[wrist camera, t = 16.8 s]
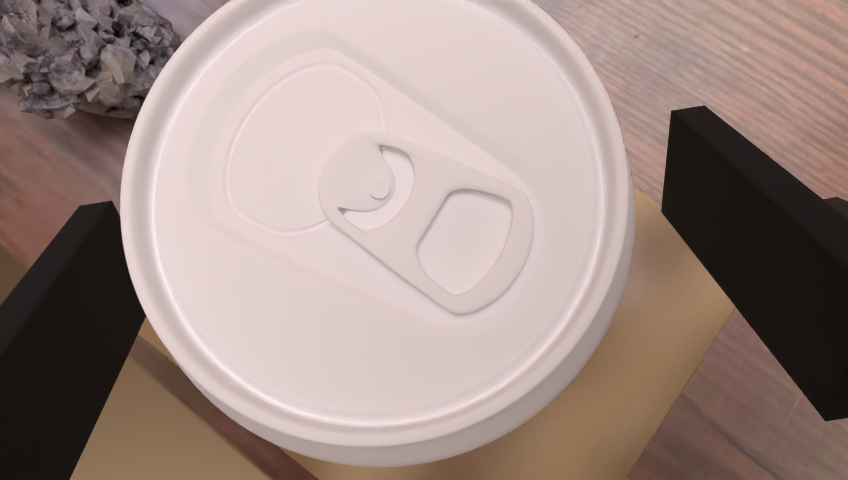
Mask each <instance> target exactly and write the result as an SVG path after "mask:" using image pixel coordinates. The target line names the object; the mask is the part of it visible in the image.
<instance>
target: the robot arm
mask: <svg viewBox="0 0 848 480" xmlns="http://www.w3.org/2000/svg"><path fill="white" fill-rule="evenodd" d="M661 212H662V214H663V215H664V216H665V218H666V219H667V220H668V221H669V223H670V224H671V225H672V226H673V228H674V229H675V230H676V232H677V233H678V234H679V235H680V237H681V238H682V239H683V240H684V242H685V243H686V244H687V246H688V247H689V248H690V249H691V251H692V252H693V253H694V255H695V256H696V257H697V258H698V260H699V261H700V262H701V263H702V265H703V266H704V267H705V269H706V270H707V271H708V272H709V274H710V275H711V276H712V277H713V279H714V280H715V281H716V283H717V284H718V285H719V286H720V288H721V289H722V290H723V291H724V293H725V294H726V295H727V297H728V298H729V299H730V300H731V302H732V303H733V304H734V305H735V307H736V308H737V309H738V311H739V312H740V313H741V314H742V316H743V317H744V318H745V320H746V321H747V322H748V323H749V325H750V326H751V327H752V328H753V330H754V331H755V332H756V334H757V335H758V336H759V337H760V339H761V340H762V341H763V342H764V344H765V345H766V346H767V348H768V349H769V350H770V351H771V353H772V354H773V355H774V356H775V358H776V359H777V360H778V362H779V363H780V364H781V365H782V367H783V368H784V369H785V370H786V372H787V373H788V374H789V376H790V377H791V378H792V379H793V381H794V382H795V383H796V384H797V386H798V387H799V388H800V390H801V391H802V392H803V393H804V395H805V396H806V397H807V399H808V400H809V401H810V402H811V404H812V405H813V406H814V407H815V409H816V410H817V411H818V413H819V414H820V415H821V416H822V418H823V419H824V420H825V421H831V420H837V419H844V418H848V201H845V200H843V199H841V198H838V197H835V198H829V199H822V198H821V197H819V196H818V195H817V194H816V193H814V192H813V191H812V190H811V189H809V188H808V187H807V186H805V185H804V184H803V183H802V182H800V181H799V180H798V179H797V178H795V177H794V176H793V175H792V174H790V173H789V172H788V171H787V170H785V169H784V168H783V167H781V166H780V165H779V164H778V163H776V162H775V161H774V160H773V159H771V158H770V157H769V156H768V155H766V154H765V153H764V152H763V151H761V150H760V149H759V148H757V147H756V146H755V145H754V144H752V143H751V142H750V141H749V140H747V139H746V138H745V137H744V136H742V135H741V134H740V133H739V132H737V131H736V130H735V129H733V128H732V127H731V126H730V125H728V124H727V123H726V122H725V121H723V120H722V119H721V118H720V117H718V116H717V115H716V114H715V113H713V112H712V111H711V110H709V109H708V108H707V107H706V106H698V107H692V108H686V109H680V110H673V111H671V119H670V129H669V139H668V148H667V158H666V168H665V178H664V188H663V198H662V208H661ZM145 318H146V314H145V312H144V310H143V308H142V305H141V303H140V301H139V299H138V296H137V294H136V291H135V289H134V286H133V283H132V280H131V277H130V273H129V270H128V266H127V262H126V257H125V253H124V247H123V241H122V233H121V220H120V216H119V214H118V212H117V210H116V208H115V206H114V204H113V202H112V201H107V202H101V203H94V204H88V205H82V206H79V207H78V209H77V210H76V211H75V212H74V214H73V215H72V216H71V217H70V219H69V220H68V221H67V223H66V224H65V225H64V226H63V228H62V229H61V230H60V231H59V233H58V234H57V235H56V236H55V238H54V239H53V240H52V241H51V243H50V244H49V245H48V246H47V248H46V249H45V250H44V252H43V253H42V254H41V255H40V257H39V258H38V259H37V260H36V262H35V263H34V264H33V265H32V267H31V268H30V269H29V270H28V272H27V273H26V274H25V276H24V277H23V278H22V279H21V281H20V282H19V283H18V284H17V286H16V287H15V288H14V289H13V291H12V292H11V293H10V294H9V296H8V297H7V298H6V300H5V301H4V302H3V303H2V304H1V306H0V480H70V477H71V475H72V473H73V471H74V469H75V467H76V464H77V462H78V460H79V458H80V456H81V454H82V452H83V450H84V448H85V445H86V443H87V441H88V439H89V437H90V435H91V433H92V430H93V428H94V426H95V424H96V422H97V420H98V418H99V416H100V413H101V411H102V409H103V407H104V405H105V403H106V401H107V399H108V396H109V394H110V392H111V390H112V388H113V386H114V384H115V382H116V379H117V377H118V375H119V373H120V371H121V369H122V366H123V364H124V362H125V360H126V358H127V356H128V354H129V352H130V350H131V347H132V345H133V343H134V341H135V339H136V337H137V335H138V333H139V330H140V328H141V326H142V324H143V322H144V320H145Z"/></svg>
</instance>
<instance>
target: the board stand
mask: <svg viewBox="0 0 848 480" xmlns="http://www.w3.org/2000/svg"><path fill="white" fill-rule="evenodd" d="M633 188H634V198H635V235H634V245H633V253H632V259H631V264H630V269H629V273H628V277H627V281H626V284H625V288H624V291H623V294H622V297H621V300H620V302H619V305H618V308H617V310H616V313H615V315H614V317H613V319H612V321H611V324H610V326H609V327H608V329H607V331H606V333H605V335H604V337H603V339H602V340H601V342H600V344H599V346H598V347H597V349H596V350H595V352H594V353H593V355H592V356H591V358H590V359H589V360H588V362H587V363H586V365H585V366H584V367H583V368H582V370H581V371H580V372H579V373H578V375H577V376H576V377H575V378H574V379H573V380H572V382H571V383H570V384H569V385H568V386H567V387H566V388H565V389H564V390H563V391H562V392H561V393H560V394H559V395H558V396H557V397H556V398H555V399H554V400H553V401H552V402H550V403H549V404H548V405H547V406H546V407H545V408H543V409H542V410H541V411H540V412H539V413H537V414H536V415H535V416H533V417H532V418H530V419H529V420H528V421H526V422H525V423H523V424H522V425H520V426H519V427H517V428H516V429H514V430H512V431H511V432H509V433H507V434H505V435H504V436H502V437H500V438H498V439H496V440H494V441H492V442H490V443H488V444H485V445H483V446H481V447H479V448H476V449H474V450H471V451H468V452H466V453H463V454H460V455H457V456H453V457H450V458H446V459H442V460H438V461H434V462H429V463H423V464H417V465H409V466H398V467H361V466H350V465H343V464H337V463H332V462H327V461H322V460H318V459H314V458H311V457H307V456H304V455H301V454H298V453H295V452H292V451H290V450H287V449H285V448H282V447H280V446H278V445H276V446H277V447H279V448H280V449H281V450H282V451H284V452H285V453H286V454H287V455H289V456H290V457H291V458H292V459H294V460H295V461H296V462H297V463H299V464H300V465H301V466H302V467H304V468H305V469H306V470H307V471H309V472H310V473H311V474H312V475H313V476H315V477H316V478H317V479H318V480H626V478H627V476H628V475H629V473H630V472H631V470H632V469H633V467H634V466H635V464H636V462H637V461H638V459H639V458H640V456H641V455H642V453H643V451H644V450H645V448H646V447H647V445H648V444H649V442H650V441H651V439H652V437H653V436H654V434H655V433H656V431H657V430H658V428H659V427H660V425H661V423H662V422H663V420H664V419H665V417H666V416H667V414H668V412H669V411H670V409H671V408H672V406H673V405H674V403H675V402H676V400H677V398H678V397H679V395H680V394H681V392H682V391H683V389H684V388H685V386H686V384H687V383H688V381H689V380H690V378H691V377H692V375H693V374H694V372H695V370H696V369H697V367H698V366H699V364H700V363H701V361H702V359H703V358H704V356H705V355H706V353H707V352H708V350H709V349H710V347H711V345H712V344H713V342H714V341H715V339H716V338H717V336H718V335H719V333H720V331H721V330H722V328H723V327H724V325H725V324H726V322H727V320H728V319H729V317H730V316H731V314H732V313H733V311H734V310H735V308H736V307H735V305H734V304H733V303H732V302H731V300H730V299H729V298H728V297H727V295H726V294H725V293H724V291H723V290H722V289H721V288H720V286H719V285H718V284H717V283H716V281H715V280H714V279H713V277H712V276H711V275H710V274H709V272H708V271H707V270H706V269H705V267H704V266H703V265H702V263H701V262H700V261H699V260H698V258H697V257H696V256H695V255H694V253H693V252H692V251H691V249H690V248H689V247H688V246H687V244H686V243H685V242H684V240H683V239H682V238H681V237H680V235H679V234H678V233H677V232H676V230H675V229H674V228H673V226H672V225H671V224H670V223H669V221H668V220H667V219H666V218H665V216H664V215H663V214H662V212H661V208H662V203H660V202H658V201H657V200H655V199H654V198H652V197H651V196H649V195H648V194H646V193H645V192H643V191H642V190H640V189H638V188H637V187H635V186H634V185H633ZM138 335H139V336H140V337H142V338H143V339H144V340H145V341H147V342H148V343H149V344H150V345H152V346H153V347H154V348H155V349H157V350H158V351H159V352H160V353H162V354H163V355H164V356H165V357H167V358H168V359H169V360H170V361H172V362H173V363H174V364H175V365H177V366H178V367H179V368H180V366H179V365H178V364H177V362H176V361H175V359H174V358H173V356H172V355H171V353H170V352H169V351H168V349H167V348H166V347H165V345H164V344H163V343H162V341H161V340H160V338H159V337H158V335H157V333H156V332H155V330H154V328H153V327H152V325H151V323H150V321H149V320H148V318H147V316H146V318H145V320H144V322H143V324H142V326H141V328H140V330H139V333H138ZM180 369H181V368H180Z"/></svg>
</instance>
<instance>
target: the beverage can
mask: <svg viewBox="0 0 848 480" xmlns="http://www.w3.org/2000/svg"><path fill="white" fill-rule="evenodd" d="M120 220H121V233H122V241H123V247H124V253H125V257H126V262H127V266H128V270H129V273H130V277H131V280H132V283H133V286H134V289H135V291H136V294H137V296H138V299H139V301H140V303H141V305H142V308H143V310H144V312H145V314H146V316H147V318H148V320H149V321H150V323H151V325H152V327H153V328H154V330H155V332H156V333H157V335H158V337H159V338H160V340H161V341H162V343H163V344H164V345H165V347H166V348H167V349H168V351H169V352H170V353H171V355H172V356H173V358H174V359H175V361H176V362H177V364H178V365H179V366H180V368H181V369H182V370H183V372H184V373H185V374H186V376H187V377H188V378H189V379H190V380H191V382H192V383H193V384H194V385H195V386H196V387H197V388H198V389H199V390H200V391H201V393H202V394H203V395H204V396H205V397H207V398H208V399H209V400H210V401H211V402H212V403H213V404H214V405H215V406H216V407H217V408H219V409H220V410H221V411H222V412H223V413H225V414H226V415H227V416H229V417H230V418H231V419H233V420H234V421H235V422H237V423H238V424H240V425H241V426H243V427H244V428H246V429H247V430H249V431H251V432H252V433H254V434H256V435H258V436H259V437H261V438H263V439H265V440H267V441H269V442H271V443H273V444H275V445H278V446H280V447H282V448H285V449H287V450H290V451H292V452H295V453H298V454H301V455H304V456H307V457H311V458H314V459H318V460H322V461H327V462H332V463H337V464H343V465H350V466H361V467H398V466H409V465H417V464H423V463H429V462H434V461H438V460H442V459H446V458H450V457H453V456H457V455H460V454H463V453H466V452H468V451H471V450H474V449H476V448H479V447H481V446H483V445H485V444H488V443H490V442H492V441H494V440H496V439H498V438H500V437H502V436H504V435H505V434H507V433H509V432H511V431H512V430H514V429H516V428H517V427H519V426H520V425H522V424H523V423H525V422H526V421H528V420H529V419H530V418H532V417H533V416H535V415H536V414H537V413H539V412H540V411H541V410H542V409H543V408H545V407H546V406H547V405H548V404H549V403H550V402H552V401H553V400H554V399H555V398H556V397H557V396H558V395H559V394H560V393H561V392H562V391H563V390H564V389H565V388H566V387H567V386H568V385H569V384H570V383H571V382H572V380H573V379H574V378H575V377H576V376H577V375H578V373H579V372H580V371H581V370H582V368H583V367H584V366H585V365H586V363H587V362H588V360H589V359H590V358H591V356H592V355H593V353H594V352H595V350H596V349H597V347H598V346H599V344H600V342H601V340H602V339H603V337H604V335H605V333H606V331H607V329H608V327H609V326H610V324H611V321H612V319H613V317H614V315H615V313H616V310H617V308H618V305H619V302H620V300H621V297H622V294H623V291H624V288H625V284H626V281H627V277H628V273H629V269H630V264H631V259H632V253H633V245H634V235H635V198H634V188H633V181H632V174H631V169H630V164H629V160H628V156H627V152H626V149H625V145H624V141H623V137H622V133H621V129H620V126H619V123H618V119H617V117H616V114H615V111H614V108H613V106H612V103H611V101H610V99H609V96H608V94H607V92H606V90H605V88H604V86H603V84H602V82H601V80H600V78H599V76H598V75H597V73H596V71H595V70H594V68H593V66H592V65H591V63H590V62H589V60H588V59H587V57H586V56H585V55H584V53H583V52H582V51H581V49H580V48H579V47H578V45H577V44H576V43H575V42H574V40H573V39H572V38H571V37H570V36H569V35H568V34H567V33H566V31H565V30H564V29H563V28H562V27H561V26H560V25H559V24H558V23H557V22H556V21H555V20H554V19H553V18H551V17H550V16H549V15H548V14H547V13H546V12H545V11H543V10H542V9H541V8H540V7H538V6H537V5H536V4H535V3H533V2H532V1H531V0H230V1H229V2H228V3H226V4H225V5H223V6H222V7H221V8H219V9H218V10H217V11H216V12H214V13H213V14H212V15H211V16H210V17H208V18H207V19H206V20H205V21H204V22H203V23H202V24H201V25H200V26H199V27H197V28H196V29H195V31H194V32H193V33H192V34H191V35H190V36H189V37H188V38H187V39H186V40H185V41H184V42H183V43H182V44H181V46H180V47H179V48H178V49H177V50H176V52H175V53H174V54H173V56H172V57H171V58H170V60H169V61H168V62H167V64H166V65H165V66H164V68H163V69H162V71H161V72H160V74H159V76H158V77H157V79H156V80H155V82H154V84H153V86H152V87H151V89H150V91H149V93H148V95H147V97H146V99H145V101H144V103H143V105H142V107H141V110H140V112H139V114H138V117H137V120H136V122H135V125H134V128H133V131H132V134H131V137H130V140H129V144H128V148H127V152H126V157H125V161H124V167H123V173H122V181H121V194H120Z"/></svg>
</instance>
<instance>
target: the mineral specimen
mask: <svg viewBox="0 0 848 480" xmlns="http://www.w3.org/2000/svg"><path fill="white" fill-rule="evenodd" d="M180 46H181V44H180V41H179V38H178V37H177V36H176V35H175V33H174V32H173V30H172V26H171V22H170V21H168V20H166V19H165V18H163V17H161V16H159V15H158V14H157V12H155V11H154V10H152V9H151V8H149V7H148V6H146V5H144V4H142V3H140V2H139V1H138V0H129V3H128V0H0V82H1V83H2V84H4V85H5V86H7V87H8V88H9V87H10V86H12V85H13V86H14V88H15V91H16V93H17V95H19V96H22V97H23V99H22V100H20V101H19V102H18V105H19V109H20V112H29V113H35V114H36V115H38V116H40V117H42V118H44V119H47V120H48V119H52V118H66V117H68V116H69V115H70V114H72V113H73V112H74V111H76V109H77V108H78V109H80V110H83V111H86V112H91V113H96V114H101V115H106V116H111V117H117V118H130V119H132V120H134V121H136V120H137V117H138V114H139V112H140V110H141V107H142V105H143V103H144V101H145V99H146V97H147V95H148V93H149V91H150V89H151V87H152V86H153V84H154V82H155V80H156V79H157V77H158V76H159V74H160V72H161V71H162V69H163V68H164V66H165V65H166V64H167V62H168V61H169V60H170V58H171V57H172V56H173V54H174V53H175V52H176V50H177V49H178V48H179V47H180Z"/></svg>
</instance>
